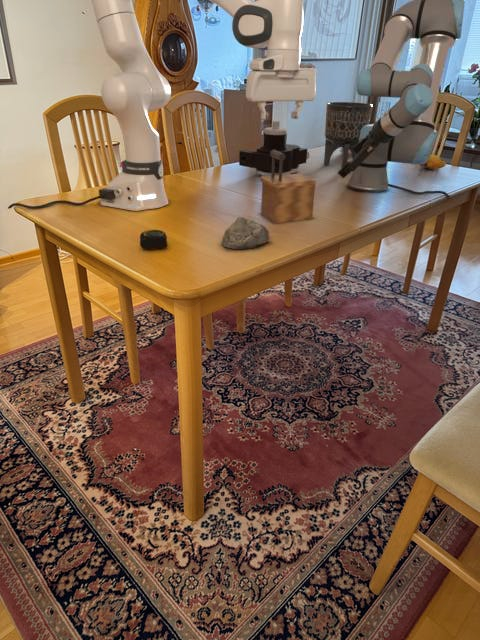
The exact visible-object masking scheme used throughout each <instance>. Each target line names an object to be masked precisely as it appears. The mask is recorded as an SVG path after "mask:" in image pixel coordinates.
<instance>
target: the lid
mask: <svg viewBox="0 0 480 640" xmlns="http://www.w3.org/2000/svg"><path fill="white" fill-rule="evenodd" d="M270 155H271V157H272V174H271V176H263V177H262V176H259V177H260V178H259V181H260V182H261V183H262V182H264V183H265V184H267V185H269V186H271V187H273V188H281V187H292V186H303V185H314V184H315V185H316V183H317V180H316V179H314V178H312V177H309V176H307V175H305V174H303V173H291V174H287V175H282V167H283V160H284V159H285V154H284V153H281V152H279V151H276V150H272V151H271V152H270ZM275 158H276V159H279V160H280V166H279V175H275V176H274V171H275Z"/></svg>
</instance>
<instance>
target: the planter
mask: <svg viewBox="0 0 480 640" xmlns="http://www.w3.org/2000/svg"><path fill="white" fill-rule="evenodd" d="M373 107H374V106H373V104H372V103H367V102H353V101H333V102H327V103H326V109H325V124H324V125H325V126H324V139H325V144H324V156H323V157H324V158H323V165H325V166H328V165H330V163H331V158H332V156H333V154H334V153H335V151H336V150H337V149H341V148H342V152H341V166H340V170H341V169H342V168H343V167H344V166H345V165H347V162H348V159H349V154H348V152H349V150H350V151H351V153H352V155H351V157H352V158H351V160H353V159H354V157H355V156H356V155H357V153H356V152H354V151H353V148H354V147H355V146H356V145H357V144H358V143H359V137H360V132H361V129H362V127H364V126H366V125H370V121H371V116H372V112H373Z"/></svg>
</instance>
